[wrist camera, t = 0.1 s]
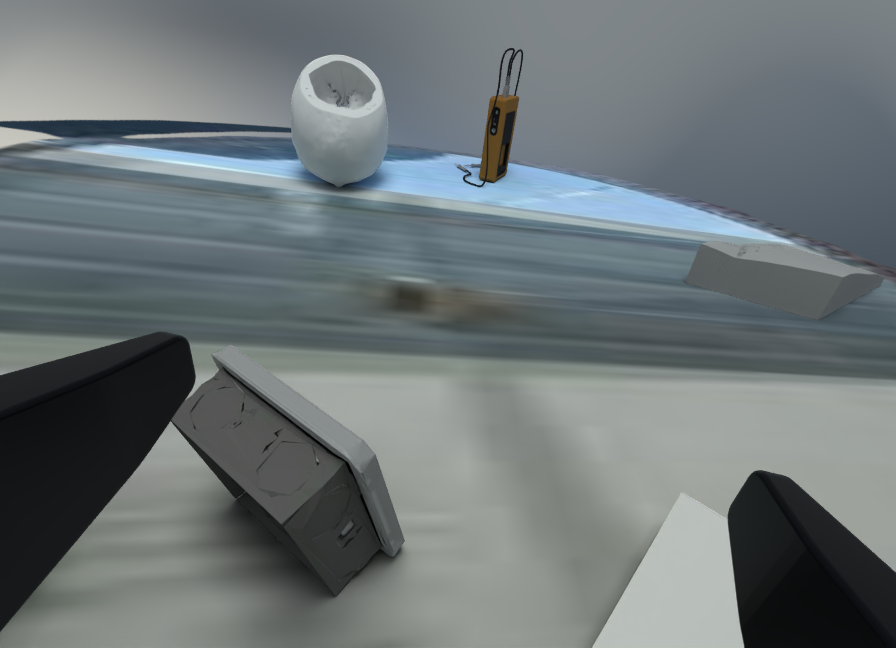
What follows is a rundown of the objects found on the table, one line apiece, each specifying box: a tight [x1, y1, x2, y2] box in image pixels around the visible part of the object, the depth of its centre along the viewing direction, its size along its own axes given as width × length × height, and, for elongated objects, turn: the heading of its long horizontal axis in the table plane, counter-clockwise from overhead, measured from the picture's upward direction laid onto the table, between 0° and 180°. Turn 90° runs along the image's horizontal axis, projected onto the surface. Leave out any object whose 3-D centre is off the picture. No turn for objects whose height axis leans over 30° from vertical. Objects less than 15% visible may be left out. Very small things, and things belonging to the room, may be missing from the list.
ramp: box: [685, 241, 885, 320], centre depth 56 cm, size 28×16×5 cm, turn 103°
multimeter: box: [454, 48, 523, 187], centre depth 80 cm, size 15×10×20 cm
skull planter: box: [291, 55, 388, 187], centre depth 73 cm, size 14×20×19 cm
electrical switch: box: [171, 345, 405, 596], centre depth 21 cm, size 9×5×9 cm, turn 52°
